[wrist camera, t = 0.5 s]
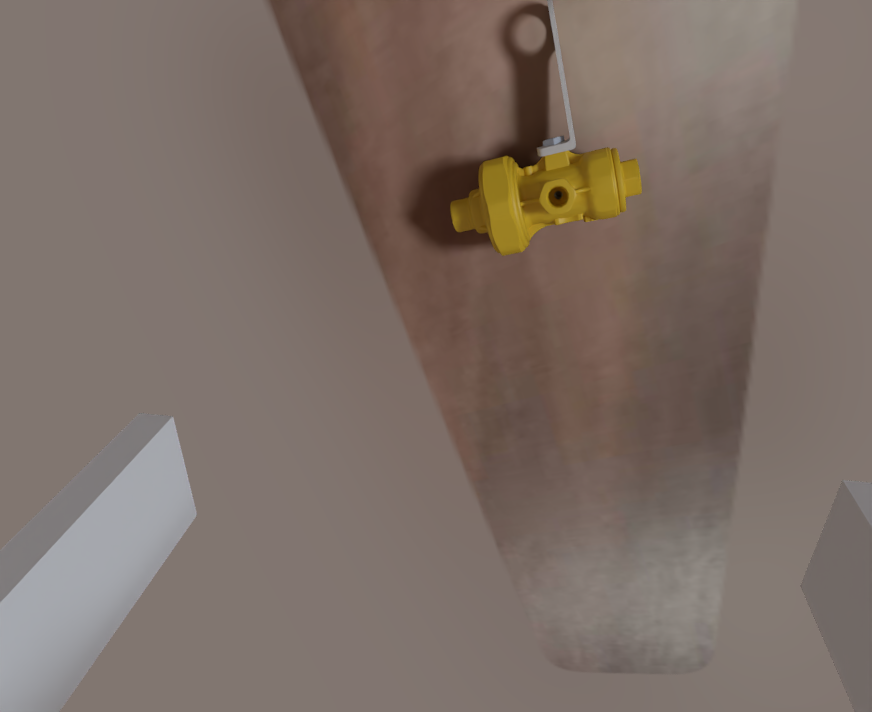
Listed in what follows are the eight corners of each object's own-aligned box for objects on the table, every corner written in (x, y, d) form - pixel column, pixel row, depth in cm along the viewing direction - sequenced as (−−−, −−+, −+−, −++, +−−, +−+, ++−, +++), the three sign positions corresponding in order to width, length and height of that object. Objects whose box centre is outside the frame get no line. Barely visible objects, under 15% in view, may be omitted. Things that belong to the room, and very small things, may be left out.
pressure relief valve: (640, 219, 36) (471, 254, 39) (608, -9, 33) (426, 46, 36) (650, 230, 31) (454, 269, 34) (613, -39, 28) (401, 28, 31)
